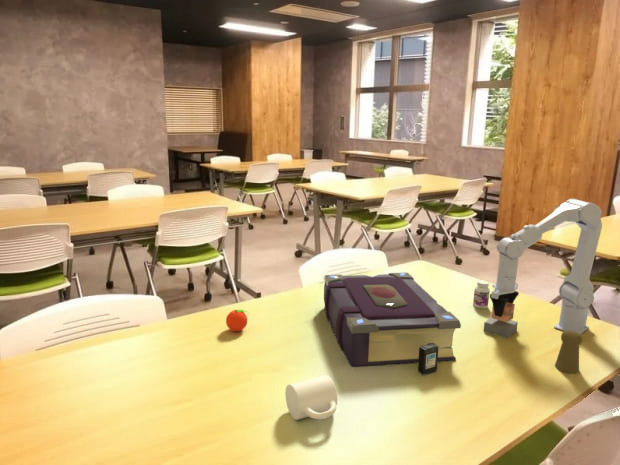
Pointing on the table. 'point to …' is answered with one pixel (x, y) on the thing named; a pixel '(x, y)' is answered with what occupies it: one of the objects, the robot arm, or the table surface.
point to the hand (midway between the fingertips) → (502, 313)
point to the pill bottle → (481, 295)
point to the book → (386, 319)
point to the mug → (312, 398)
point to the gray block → (500, 327)
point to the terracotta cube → (505, 313)
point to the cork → (569, 352)
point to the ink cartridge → (428, 358)
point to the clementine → (236, 320)
